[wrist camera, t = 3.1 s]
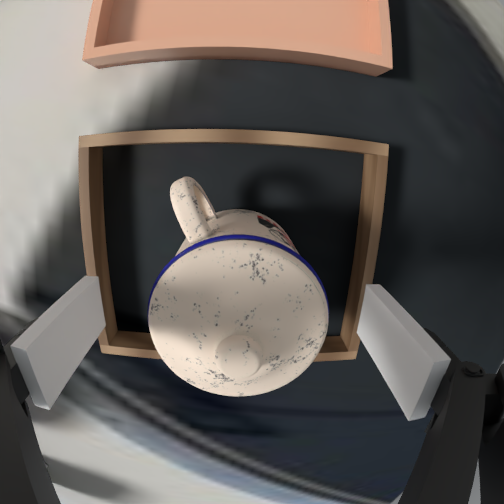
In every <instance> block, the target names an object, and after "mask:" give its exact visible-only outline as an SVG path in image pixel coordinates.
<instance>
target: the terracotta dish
mask: <svg viewBox="0 0 504 504" xmlns="http://www.w3.org/2000/svg"><path fill="white" fill-rule="evenodd" d="M193 59H239V60H261V61H275V62H286V63H296V64H305V65H313V66H320V67H327V68H333V69H340V70H345V71H351V72H356V73H361V74H366V75H371V76H375V77H376V76H378V75H380V74H383V73H385V72H387V71H389V70H391V69H393V65H392V42H391V27H390V16H389V6H388V0H93V3H92V8H91V12H90V17H89V22H88V27H87V33H86V39H85V45H84V51H83V58H82V60H83V61H85V62H87V63H89V64H90V65H92V66H94V67H96V68H98V69H100V68H106V67H113V66H120V65H128V64H136V63H146V62H157V61H171V60H193Z"/></svg>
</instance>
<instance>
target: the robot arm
mask: <svg viewBox="0 0 504 504" xmlns="http://www.w3.org/2000/svg"><path fill="white" fill-rule="evenodd" d="M105 326H106V323H105V317H104V311H103V305H102V299H101V293H100V286H99V278H98V277H96V276H84V277H83V278H82V279H81V280H80V281H79V282H78V283H76V284H75V285H74V286H73V287H72V288H71V289H70V290H69V291H67V292H66V293H65V294H64V295H63V296H62V297H61V298H60V299H59V300H57V301H56V302H55V303H54V304H53V305H52V306H51V307H50V308H49V309H48V310H47V311H46V312H44V313H43V314H42V315H41V316H40V317H39V318H37V319H35V320H33V321H31V322H29V323H28V324H27V325H26V326H25V327H24V328H23V330H21V331H20V332H19V333H17V335H15V336H14V337H13V338H12V339H11V340H10V341H9V342H8V343H7V344H6V345H5V346H4V347H3V346H2V343H1V340H0V504H61V503H60V501H59V498H58V496H57V494H56V491H55V489H54V487H53V484H52V481H51V479H50V476H49V474H48V471H47V468H46V465H45V463H44V460H43V457H42V454H41V451H40V448H39V444H38V441H37V438H36V434H35V431H34V427H33V424H32V420H31V416H30V412H29V408H28V405H27V403H26V401H25V399H26V398H27V397H28V395H29V394H30V396H31V399H32V401H33V403H34V405H35V406H38V407H42V408H45V409H48V410H50V409H51V407H52V406H53V404H54V402H55V401H56V399H57V398H58V396H59V395H60V393H61V391H62V390H63V388H64V387H65V385H66V384H67V382H68V380H69V379H70V377H71V376H72V374H73V373H74V371H75V370H76V368H77V367H78V365H79V364H80V362H81V361H82V359H83V358H84V356H85V355H86V353H87V352H88V350H89V349H90V348H91V346H92V345H93V343H94V342H95V340H96V339H97V337H98V336H99V335H100V333H101V332H102V330H103V329H104V328H105ZM357 334H358V336H359V337H360V339H361V341H362V342H363V344H364V346H365V347H366V349H367V350H368V352H369V354H370V355H371V357H372V359H373V360H374V362H375V364H376V366H377V367H378V369H379V371H380V372H381V374H382V376H383V377H384V379H385V381H386V382H387V384H388V386H389V388H390V389H391V391H392V393H393V395H394V396H395V398H396V400H397V402H398V403H399V405H400V407H401V409H402V410H403V412H404V414H405V416H406V417H407V419H408V421H410V420H415V419H419V418H423V417H425V416H426V414H427V412H428V410H429V408H430V406H431V407H432V408H433V410H434V411H435V413H434V415H433V417H432V419H431V421H430V422H429V424H428V426H427V428H426V430H425V432H426V433H427V434H426V437H425V440H424V443H423V445H422V448H421V451H420V453H419V456H418V459H417V461H416V464H415V466H414V469H413V471H412V473H411V476H410V478H409V480H408V483H407V485H406V487H405V489H404V492H403V494H402V496H401V498H400V500H399V502H398V504H468V501H469V497H470V493H471V489H472V485H473V481H474V476H475V471H476V466H477V461H478V459H479V474H480V493H481V504H504V364H502V365H501V367H500V369H499V371H498V373H497V374H486V373H485V371H484V369H483V368H482V367H480V366H479V365H478V364H475V363H473V362H467V361H465V362H461V361H460V360H459V359H458V358H457V357H456V355H455V354H454V353H453V352H452V351H451V350H450V349H449V348H448V347H446V345H445V344H444V343H443V342H441V339H440V338H439V337H438V336H437V335H436V334H435V333H433V332H431V331H430V330H428V329H426V328H422V327H421V326H420V325H419V324H418V323H417V322H416V321H415V320H414V319H413V318H412V317H411V316H410V314H409V313H408V312H407V311H406V310H405V309H404V308H403V307H402V306H401V305H400V304H399V303H398V302H397V301H396V300H395V299H394V298H393V297H392V296H391V295H390V294H389V293H388V292H387V291H386V290H385V289H384V288H383V287H382V286H381V285H380V284H366V289H365V294H364V299H363V305H362V310H361V315H360V319H359V324H358V329H357Z"/></svg>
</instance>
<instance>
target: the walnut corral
mask: <svg viewBox="0 0 504 504" xmlns="http://www.w3.org/2000/svg"><path fill="white" fill-rule="evenodd" d="M169 143H229V144H258V145H276V146H291V147H304V148H315V149H326V150H335V151H344V152H353V153H361V154H364V164H363V177H362V189H361V200H360V210H359V219H358V227H357V236H356V243H355V251H354V258H353V265H352V272H351V278H350V284H349V290H348V296H347V302H346V308H345V313H344V318H343V324H342V329H341V334H340V336H327V337H325V340H324V343H323V345H322V347H321V349H320V351H319V353H318V355H317V356H316V358H315V359H314V360H313V362H314V361H332V360H347V359H356V355H357V351H358V347H359V343H360V337H359V336H358V334H357V329H358V324H359V319H360V315H361V310H362V305H363V299H364V294H365V289H366V284H372V282H373V276H374V270H375V265H376V258H377V252H378V246H379V239H380V232H381V224H382V216H383V208H384V199H385V189H386V178H387V166H388V151H389V144H383V143H376V142H370V141H363V140H356V139H349V138H341V137H333V136H324V135H314V134H303V133H291V132H278V131H261V130H236V129H171V130H146V131H130V132H116V133H105V134H95V135H85V136H79V196H80V214H81V227H82V238H83V247H84V256H85V264H86V272H87V276H96V277H98V278H99V286H100V293H101V299H102V305H103V311H104V317H105V323H106V326H105V328H104V329H103V330H102V332H101V333H100V335H99V336H98V338H99V343H100V347H101V351H102V353H108V354H116V355H125V356H134V357H144V358H156V359H162V358H161V356H160V355H159V353H158V351H157V349H156V347H155V345H154V343H153V340H152V338H151V334H150V333H140V332H129V331H118V329H117V323H116V317H115V311H114V305H113V298H112V291H111V283H110V275H109V267H108V257H107V247H106V235H105V221H104V202H103V147H109V146H123V145H141V144H169Z"/></svg>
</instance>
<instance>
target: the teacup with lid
mask: <svg viewBox="0 0 504 504" xmlns="http://www.w3.org/2000/svg"><path fill="white" fill-rule="evenodd" d="M170 197H171V202H172V205H173V209H174V212H175V214H176V217H177V219H178V221H179V223H180V225H181V228H182V230H183V232H184V233H185V235H186V239H185V240H184V242H183V244H182V245H181V247H180V249H179V251H178V252H177V254H176V256H175V257H174V258H173V259H172V260H171V261H170V262H169V263H168V264H167V265H166V266H165V267H164V269H163V270H162V271H161V273H160V274H159V276H158V277H157V279H156V281H155V283H154V285H153V288H152V291H151V294H150V298H149V302H148V323H149V330H150V334H151V338H152V340H153V343H154V345H155V347H156V349H157V351H158V353H159V355H160V356H161V358H162V359H163V361H164V362H165V363H166V364H167V366H168V367H169V368H170V369H171V370H172V371H173V372H174V373H176V374H177V375H178V376H179V377H180V378H182V379H183V380H185V381H186V382H188V383H190V384H191V385H193V386H195V387H197V388H200V389H202V390H205V391H208V392H211V393H215V394H219V395H226V396H251V395H257V394H262V393H266V392H269V391H272V390H275V389H277V388H280V387H282V386H284V385H286V384H287V383H289V382H291V381H292V380H294V379H295V378H296V377H298V376H299V375H300V374H301V373H303V372H304V371H305V370H306V369H307V368H308V367H309V365H310V364H311V363H312V362H313V360H314V359H315V358H316V356H317V355H318V353H319V351H320V349H321V347H322V345H323V343H324V340H325V337H326V333H327V328H328V321H329V304H328V299H327V295H326V292H325V289H324V286H323V284H322V282H321V280H320V278H319V276H318V275H317V273H316V272H315V271H314V269H313V268H312V267H311V265H310V264H309V263H308V262H307V261H306V260H305V259H304V258H302V257H301V256H300V255H299V253H298V251H297V250H296V248H295V246H294V245H293V243H292V241H291V240H290V238H289V236H288V235H287V233H286V232H285V231H284V230H283V229H282V228H281V226H280V225H278V224H277V223H276V222H275V221H273V220H272V219H270V218H269V217H267V216H265V215H263V214H261V213H258V212H255V211H251V210H244V209H231V210H225V211H221V212H217V213H215V211H214V209H213V207H212V205H211V203H210V201H209V199H208V197H207V195H206V194H205V192H204V191H203V189H202V188H201V186H200V185H199V184H198V183H197V182H196V181H195V180H194V179H193V178H191V177H183V178H181V179H179V180H177V181H175V182H174V183H173V184H172V186H171V189H170Z"/></svg>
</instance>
